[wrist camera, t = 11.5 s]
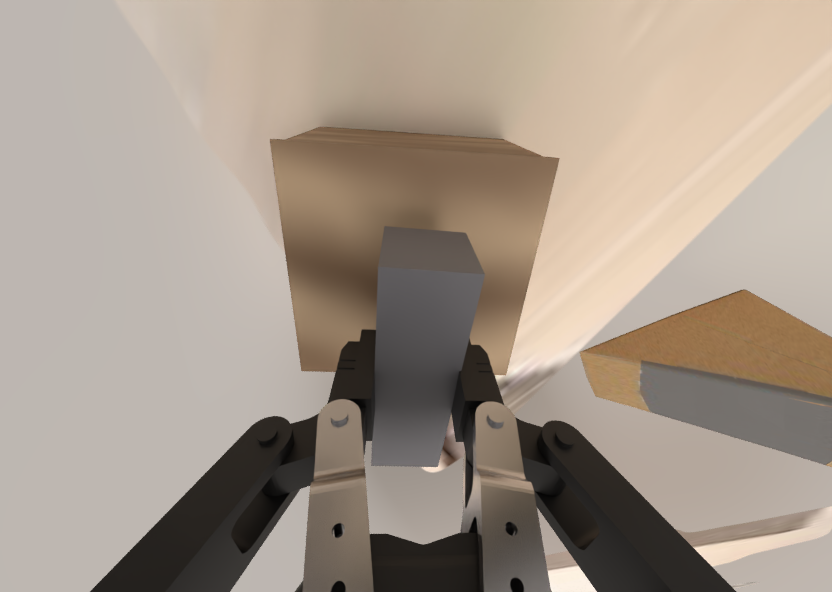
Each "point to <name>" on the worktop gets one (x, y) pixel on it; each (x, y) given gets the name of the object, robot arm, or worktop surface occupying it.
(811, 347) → the sandwich container
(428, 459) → the gray rectangular block
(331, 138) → the carton
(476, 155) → the lid
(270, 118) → the worktop surface
